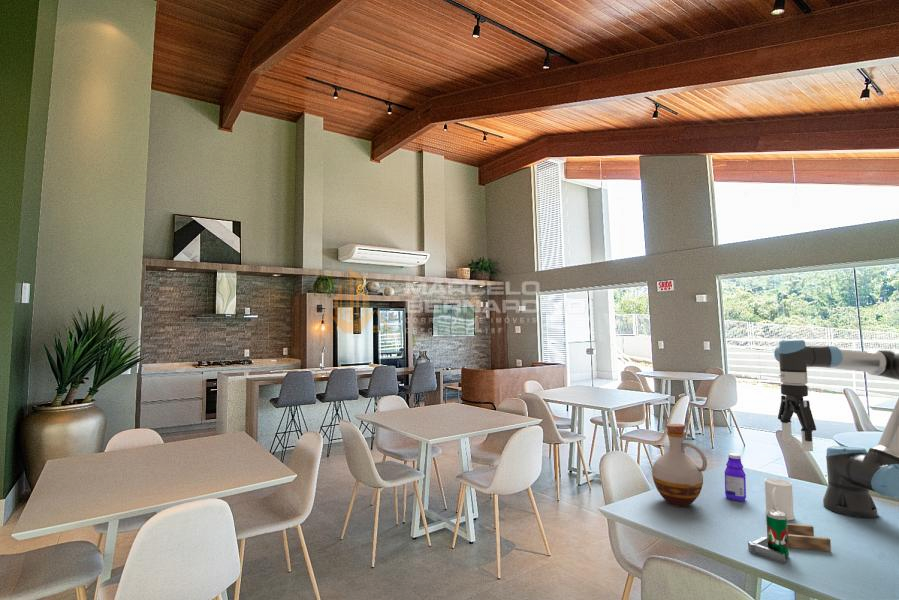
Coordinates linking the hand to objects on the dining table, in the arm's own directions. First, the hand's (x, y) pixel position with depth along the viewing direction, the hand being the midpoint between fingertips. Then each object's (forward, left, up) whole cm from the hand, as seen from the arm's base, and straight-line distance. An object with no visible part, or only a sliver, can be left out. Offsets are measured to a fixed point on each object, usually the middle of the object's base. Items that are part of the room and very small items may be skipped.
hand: (797, 446), depth 157 cm
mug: (+4, -7, -27) cm, 28 cm away
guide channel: (+7, +14, -27) cm, 31 cm away
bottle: (+12, -23, -27) cm, 37 cm away
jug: (+35, -12, -27) cm, 46 cm away
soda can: (+18, +25, -27) cm, 41 cm away
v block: (+21, +25, -27) cm, 42 cm away
